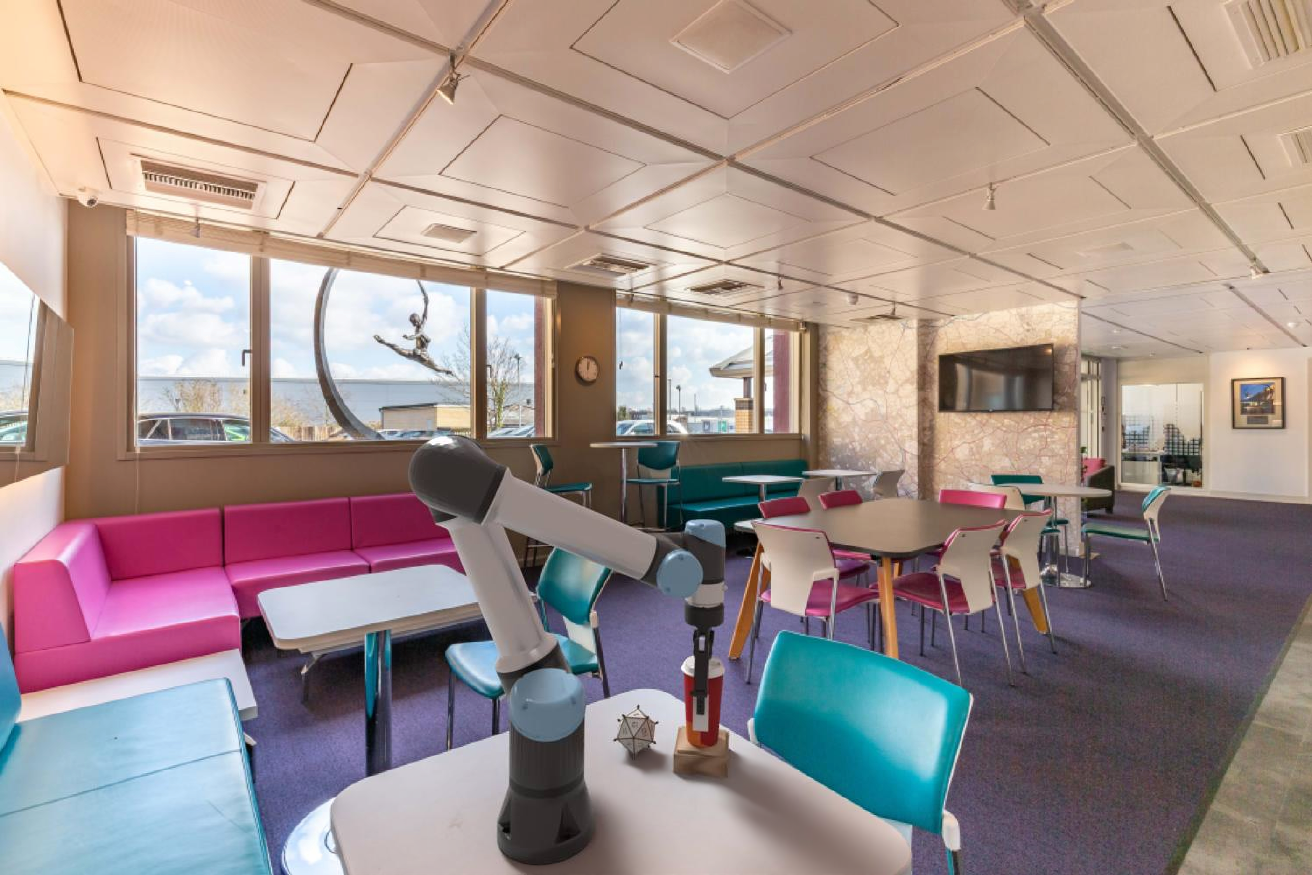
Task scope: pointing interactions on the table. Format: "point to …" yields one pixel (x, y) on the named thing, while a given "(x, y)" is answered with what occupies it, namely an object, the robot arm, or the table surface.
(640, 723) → the game die
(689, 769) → the plinth
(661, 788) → the table surface
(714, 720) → the coffee cup
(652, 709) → the table surface
